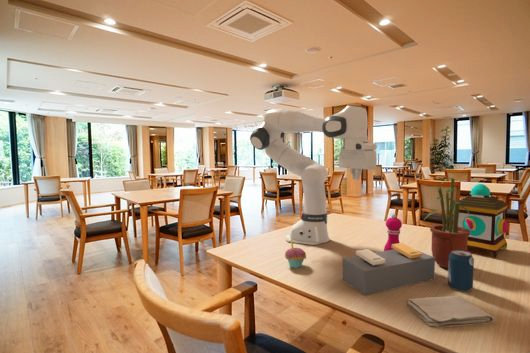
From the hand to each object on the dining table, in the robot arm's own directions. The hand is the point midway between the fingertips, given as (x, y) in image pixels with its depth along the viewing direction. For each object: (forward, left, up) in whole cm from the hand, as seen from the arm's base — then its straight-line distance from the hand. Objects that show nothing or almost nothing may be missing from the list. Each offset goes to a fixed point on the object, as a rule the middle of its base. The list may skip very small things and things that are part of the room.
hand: (355, 179), depth 120 cm
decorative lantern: (+55, +23, -34) cm, 69 cm away
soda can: (+32, -19, -34) cm, 51 cm away
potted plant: (+34, +2, -34) cm, 48 cm away
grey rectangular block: (+10, -17, -34) cm, 39 cm away
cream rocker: (+3, -21, -24) cm, 33 cm away
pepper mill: (+15, +1, -34) cm, 38 cm away
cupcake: (-24, -10, -34) cm, 43 cm away
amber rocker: (+17, -13, -24) cm, 32 cm away
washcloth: (+22, -37, -35) cm, 55 cm away
